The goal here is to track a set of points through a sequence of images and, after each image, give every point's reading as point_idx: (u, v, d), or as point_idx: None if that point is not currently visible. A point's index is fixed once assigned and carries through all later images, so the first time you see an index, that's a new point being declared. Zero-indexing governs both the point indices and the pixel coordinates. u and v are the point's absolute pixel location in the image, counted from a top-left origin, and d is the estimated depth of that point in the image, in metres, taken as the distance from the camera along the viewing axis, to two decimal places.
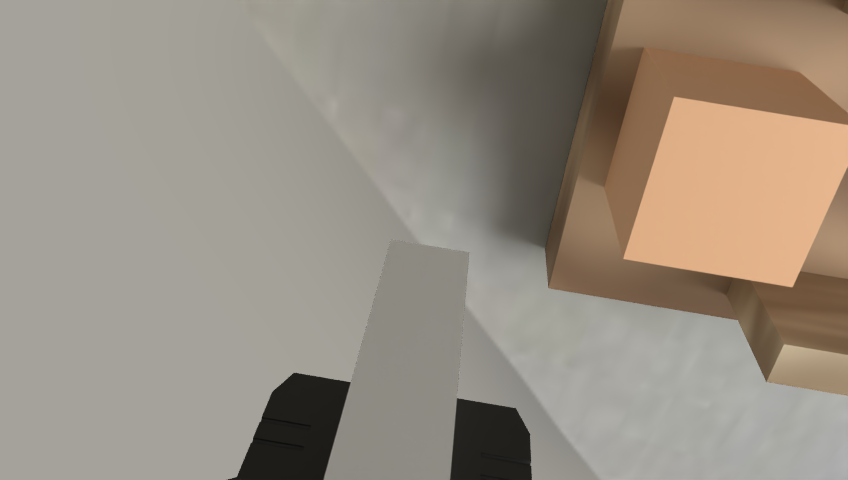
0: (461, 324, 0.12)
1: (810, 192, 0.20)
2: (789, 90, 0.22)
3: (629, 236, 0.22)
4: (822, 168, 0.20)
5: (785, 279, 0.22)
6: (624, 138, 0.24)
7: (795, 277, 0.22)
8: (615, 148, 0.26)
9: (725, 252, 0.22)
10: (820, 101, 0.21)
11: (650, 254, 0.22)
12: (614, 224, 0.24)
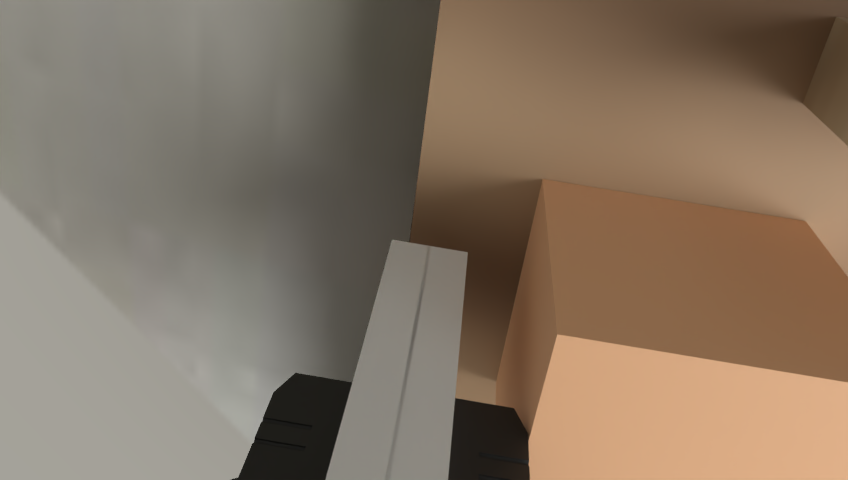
0: (459, 324, 0.12)
1: None
2: (787, 280, 0.12)
3: None
4: None
5: None
6: (514, 325, 0.15)
7: None
8: (508, 328, 0.16)
9: None
10: (844, 309, 0.11)
11: None
12: None
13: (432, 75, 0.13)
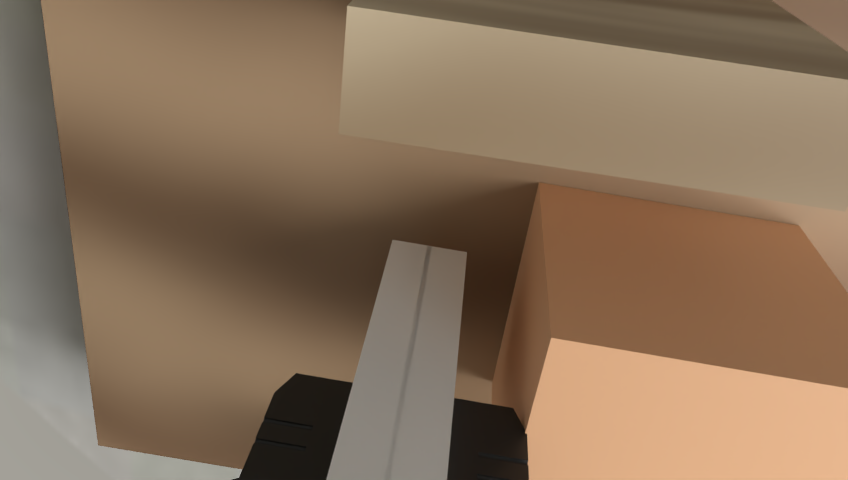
0: (459, 324, 0.12)
1: None
2: (779, 285, 0.12)
3: None
4: (841, 462, 0.10)
5: None
6: (510, 327, 0.15)
7: None
8: (505, 329, 0.16)
9: None
10: (835, 314, 0.12)
11: None
12: None
13: (43, 7, 0.14)
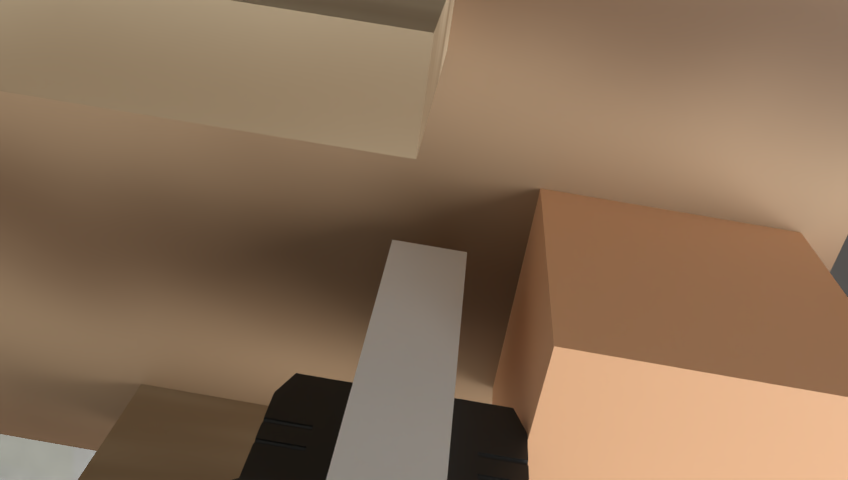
0: (459, 324, 0.12)
1: None
2: (782, 293, 0.12)
3: None
4: (844, 472, 0.10)
5: None
6: (511, 333, 0.15)
7: None
8: (505, 335, 0.16)
9: None
10: (838, 322, 0.11)
11: None
12: None
13: None
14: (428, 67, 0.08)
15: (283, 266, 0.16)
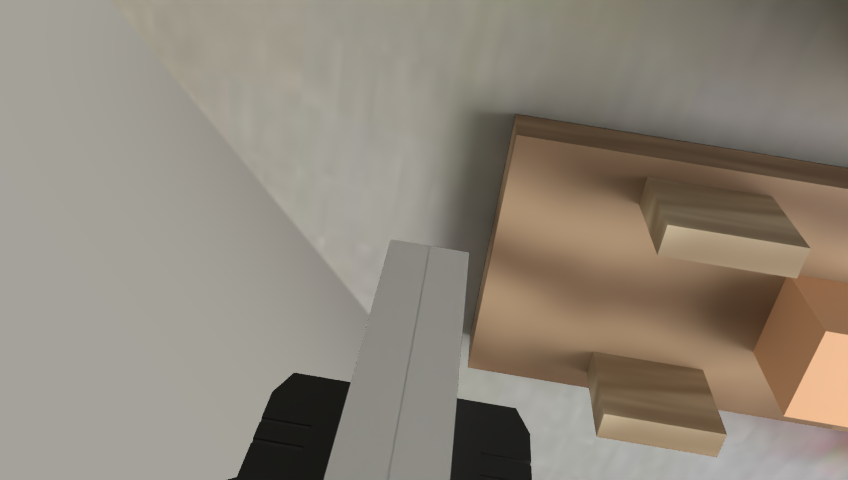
0: (461, 324, 0.12)
1: None
2: None
3: (788, 403, 0.35)
4: None
5: None
6: (773, 328, 0.38)
7: None
8: (763, 329, 0.39)
9: None
10: None
11: (801, 414, 0.35)
12: (769, 386, 0.37)
13: (505, 191, 0.37)
14: (806, 256, 0.31)
15: (674, 301, 0.39)
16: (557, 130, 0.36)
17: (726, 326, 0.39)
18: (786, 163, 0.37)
